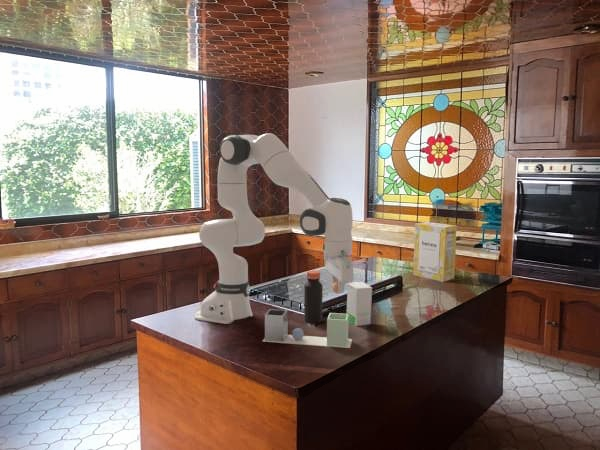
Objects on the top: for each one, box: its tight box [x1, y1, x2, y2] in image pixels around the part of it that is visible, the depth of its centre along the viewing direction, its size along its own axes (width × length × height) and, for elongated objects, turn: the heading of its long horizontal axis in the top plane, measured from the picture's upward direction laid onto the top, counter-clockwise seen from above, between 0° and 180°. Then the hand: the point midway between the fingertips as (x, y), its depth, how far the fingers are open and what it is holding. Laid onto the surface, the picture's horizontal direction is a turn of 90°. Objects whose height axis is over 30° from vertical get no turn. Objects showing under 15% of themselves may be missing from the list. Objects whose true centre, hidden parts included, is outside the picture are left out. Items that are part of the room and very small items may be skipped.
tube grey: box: [264, 308, 289, 343], centre depth 162 cm, size 6×6×9 cm
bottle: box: [303, 270, 324, 324], centre depth 179 cm, size 7×7×20 cm
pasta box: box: [412, 221, 458, 283], centre depth 249 cm, size 18×10×28 cm, turn 41°
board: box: [262, 334, 353, 349], centre depth 160 cm, size 30×8×1 cm, turn 79°
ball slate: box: [291, 327, 305, 340], centre depth 161 cm, size 4×4×4 cm
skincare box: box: [345, 281, 373, 327], centre depth 178 cm, size 8×7×16 cm
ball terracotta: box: [331, 281, 341, 294], centre depth 156 cm, size 4×4×4 cm
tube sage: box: [326, 312, 349, 348], centre depth 158 cm, size 6×6×9 cm
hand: (338, 289), depth 156 cm, fingers closed on ball terracotta, 4 cm apart
